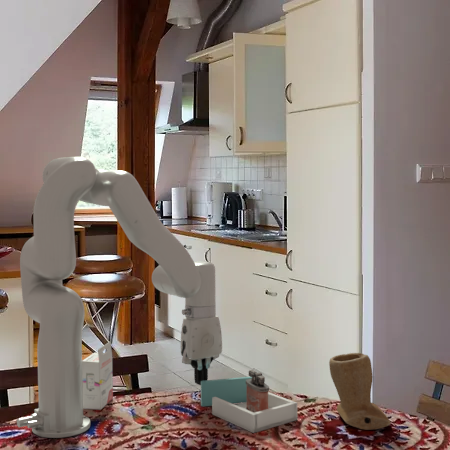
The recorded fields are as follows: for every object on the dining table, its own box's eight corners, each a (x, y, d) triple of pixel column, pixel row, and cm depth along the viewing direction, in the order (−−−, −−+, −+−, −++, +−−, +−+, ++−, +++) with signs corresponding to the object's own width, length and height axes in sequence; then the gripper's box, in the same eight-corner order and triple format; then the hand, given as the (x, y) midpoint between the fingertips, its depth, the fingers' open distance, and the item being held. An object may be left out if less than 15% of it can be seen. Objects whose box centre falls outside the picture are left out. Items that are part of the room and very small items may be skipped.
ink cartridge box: (94, 397, 174) (93, 340, 173) (113, 398, 173) (112, 340, 172) (81, 408, 166) (80, 348, 165) (100, 410, 165) (99, 349, 164)
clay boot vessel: (325, 409, 165) (325, 347, 164) (374, 408, 165) (375, 346, 164) (336, 433, 150) (337, 365, 148) (391, 432, 150) (392, 364, 149)
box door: (201, 406, 166) (201, 382, 166) (200, 405, 167) (200, 380, 167) (253, 401, 170) (253, 377, 169) (252, 400, 170) (252, 376, 170)
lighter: (272, 419, 155) (272, 376, 155) (259, 422, 154) (259, 378, 153) (255, 409, 163) (255, 367, 162) (242, 411, 161) (242, 369, 160)
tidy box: (253, 433, 150) (253, 414, 149) (212, 414, 162) (212, 397, 161) (297, 419, 158) (297, 402, 157) (254, 402, 169) (254, 386, 169)
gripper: (184, 317, 164) (184, 393, 166) (233, 310, 174) (233, 381, 175) (166, 313, 170) (167, 386, 172) (215, 305, 180) (216, 375, 181)
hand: (201, 383), depth 173 cm, fingers closed
